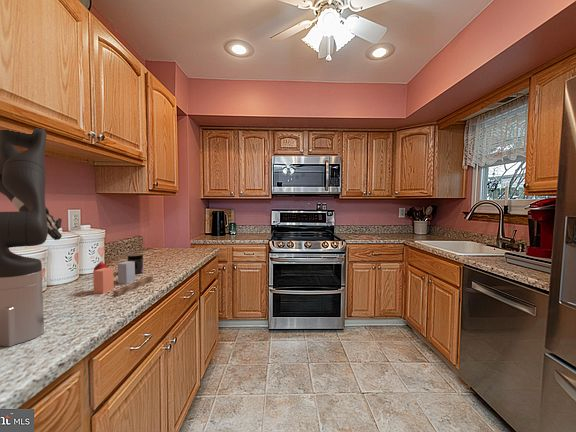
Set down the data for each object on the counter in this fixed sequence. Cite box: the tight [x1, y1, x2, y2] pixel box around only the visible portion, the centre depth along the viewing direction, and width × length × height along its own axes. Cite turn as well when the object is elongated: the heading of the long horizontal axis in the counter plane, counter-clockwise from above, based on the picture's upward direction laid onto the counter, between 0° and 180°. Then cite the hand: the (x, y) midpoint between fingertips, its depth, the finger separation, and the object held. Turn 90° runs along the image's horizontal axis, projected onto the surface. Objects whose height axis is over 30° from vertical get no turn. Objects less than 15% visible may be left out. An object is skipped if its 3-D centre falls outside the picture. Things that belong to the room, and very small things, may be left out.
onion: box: [93, 260, 109, 271], centre depth 124 cm, size 6×6×8 cm
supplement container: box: [126, 253, 144, 276], centre depth 129 cm, size 7×7×10 cm
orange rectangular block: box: [92, 267, 115, 294], centre depth 102 cm, size 5×4×8 cm
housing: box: [112, 276, 154, 297], centre depth 108 cm, size 20×14×3 cm
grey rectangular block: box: [117, 260, 136, 285], centre depth 114 cm, size 5×4×8 cm
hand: (58, 238), depth 104 cm, fingers closed
